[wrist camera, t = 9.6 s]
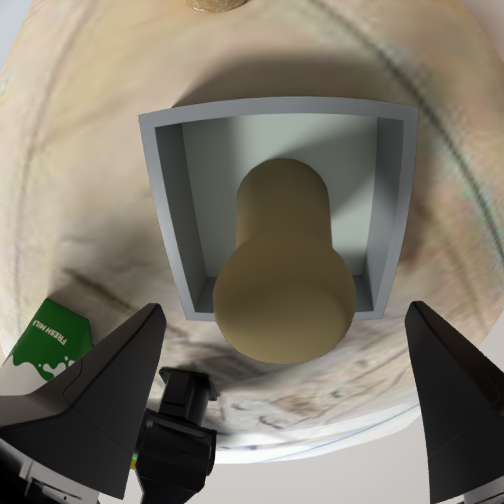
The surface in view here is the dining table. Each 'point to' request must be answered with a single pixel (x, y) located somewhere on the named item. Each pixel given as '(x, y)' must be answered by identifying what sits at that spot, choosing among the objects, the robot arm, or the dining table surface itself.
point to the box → (290, 147)
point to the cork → (284, 269)
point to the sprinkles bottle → (213, 5)
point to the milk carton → (45, 349)
